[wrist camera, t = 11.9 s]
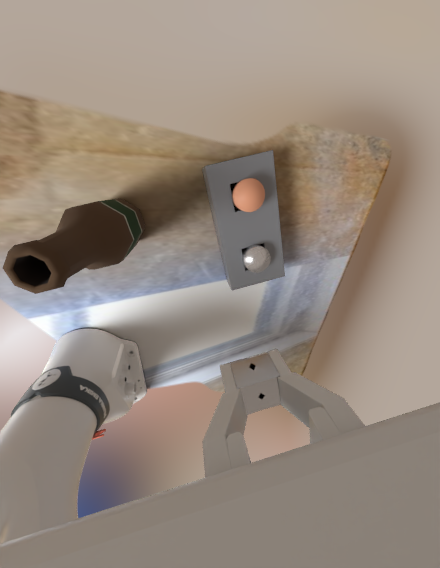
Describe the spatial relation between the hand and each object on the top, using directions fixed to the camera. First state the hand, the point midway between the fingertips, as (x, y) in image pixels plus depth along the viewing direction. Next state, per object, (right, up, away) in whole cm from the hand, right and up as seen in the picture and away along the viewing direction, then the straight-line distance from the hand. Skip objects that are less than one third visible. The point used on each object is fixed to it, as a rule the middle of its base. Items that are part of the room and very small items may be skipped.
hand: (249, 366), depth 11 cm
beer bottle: (-18, +14, +25) cm, 34 cm away
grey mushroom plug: (+4, +10, +30) cm, 32 cm away
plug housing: (+3, +15, +28) cm, 32 cm away
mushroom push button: (+2, +19, +25) cm, 31 cm away
